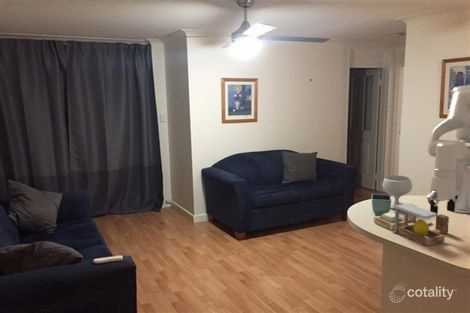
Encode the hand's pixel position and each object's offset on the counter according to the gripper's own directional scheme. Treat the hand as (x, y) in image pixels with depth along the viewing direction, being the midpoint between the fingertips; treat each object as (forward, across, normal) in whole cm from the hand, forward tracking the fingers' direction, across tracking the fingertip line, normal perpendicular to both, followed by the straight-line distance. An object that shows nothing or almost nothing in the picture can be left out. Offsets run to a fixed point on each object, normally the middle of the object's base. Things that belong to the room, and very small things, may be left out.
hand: (442, 212), depth 159 cm
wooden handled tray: (+9, +7, 0) cm, 11 cm away
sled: (+9, +7, -17) cm, 20 cm away
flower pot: (+9, +5, -29) cm, 31 cm away
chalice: (+8, -10, -35) cm, 38 cm away
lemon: (+9, +11, 0) cm, 14 cm away
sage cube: (+9, +11, -17) cm, 22 cm away
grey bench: (+9, +6, -2) cm, 11 cm away
